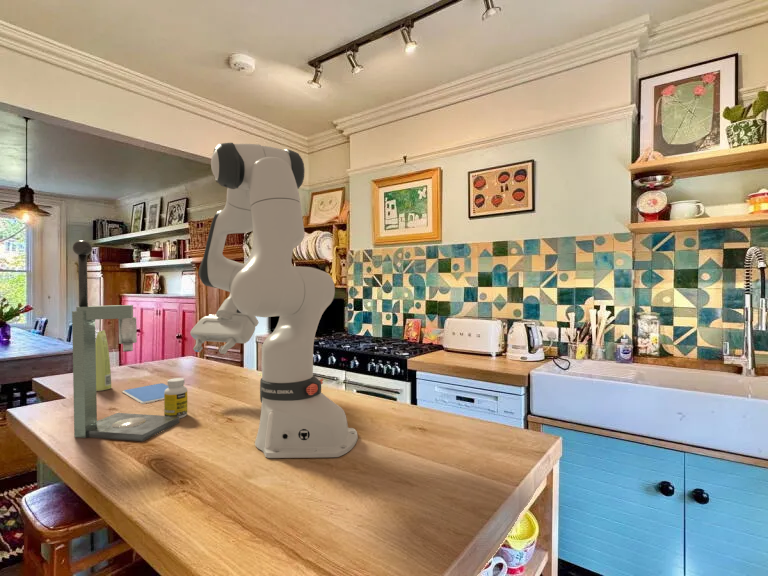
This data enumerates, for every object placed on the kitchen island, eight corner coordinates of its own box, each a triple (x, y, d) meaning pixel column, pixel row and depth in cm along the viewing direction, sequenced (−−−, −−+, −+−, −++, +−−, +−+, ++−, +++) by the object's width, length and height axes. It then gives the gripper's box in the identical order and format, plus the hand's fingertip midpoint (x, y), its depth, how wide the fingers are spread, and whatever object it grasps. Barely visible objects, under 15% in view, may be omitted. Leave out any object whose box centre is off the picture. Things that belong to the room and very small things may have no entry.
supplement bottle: (177, 420, 102) (177, 382, 102) (159, 419, 103) (159, 381, 103) (192, 413, 108) (191, 377, 107) (174, 412, 109) (174, 376, 108)
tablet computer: (186, 396, 125) (186, 392, 125) (142, 406, 116) (142, 401, 116) (163, 386, 138) (163, 382, 138) (121, 394, 129) (121, 390, 129)
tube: (89, 389, 132) (88, 331, 131) (105, 386, 136) (104, 329, 136) (98, 392, 129) (97, 332, 129) (115, 388, 134) (114, 330, 133)
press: (179, 422, 101) (176, 243, 100) (139, 442, 88) (136, 237, 87) (117, 418, 104) (114, 244, 103) (71, 437, 91) (67, 239, 91)
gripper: (200, 308, 126) (175, 343, 117) (253, 309, 119) (231, 347, 110) (211, 320, 131) (187, 355, 122) (263, 322, 124) (242, 360, 115)
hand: (208, 351), depth 116 cm, fingers open, 8 cm apart
